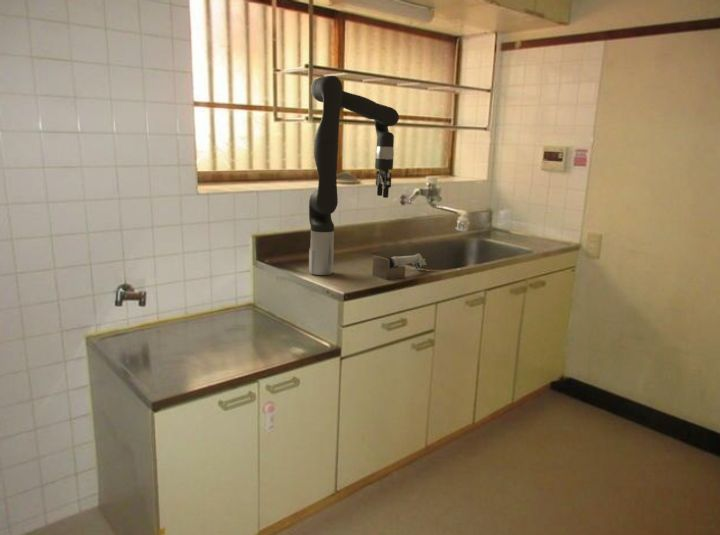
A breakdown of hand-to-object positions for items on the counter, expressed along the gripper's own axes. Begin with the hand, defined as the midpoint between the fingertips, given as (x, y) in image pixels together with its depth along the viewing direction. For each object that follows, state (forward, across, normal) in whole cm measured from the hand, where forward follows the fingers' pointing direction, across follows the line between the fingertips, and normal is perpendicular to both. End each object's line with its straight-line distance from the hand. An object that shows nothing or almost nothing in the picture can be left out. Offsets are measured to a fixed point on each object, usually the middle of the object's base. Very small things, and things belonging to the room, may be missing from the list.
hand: (382, 196), depth 228 cm
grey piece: (+27, +17, +8) cm, 33 cm away
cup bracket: (+30, +20, -2) cm, 36 cm away
